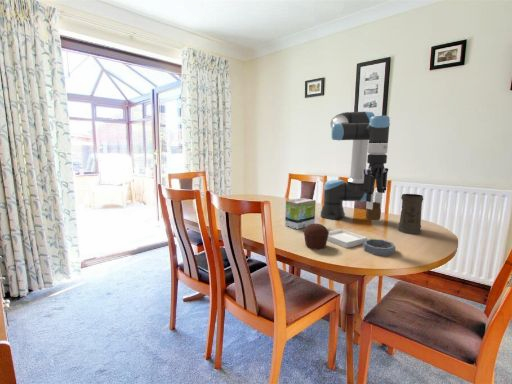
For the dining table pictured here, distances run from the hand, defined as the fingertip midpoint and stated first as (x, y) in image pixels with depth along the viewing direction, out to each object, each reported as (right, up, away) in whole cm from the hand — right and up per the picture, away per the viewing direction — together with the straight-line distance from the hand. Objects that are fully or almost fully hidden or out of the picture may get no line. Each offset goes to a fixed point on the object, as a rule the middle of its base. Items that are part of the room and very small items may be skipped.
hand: (373, 207), depth 120 cm
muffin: (-24, -18, +6) cm, 30 cm away
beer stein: (+31, -14, +29) cm, 45 cm away
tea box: (-26, -12, +39) cm, 48 cm away
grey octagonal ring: (+2, -18, 0) cm, 18 cm away
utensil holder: (0, -5, +1) cm, 5 cm away
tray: (-9, -16, +13) cm, 23 cm away
